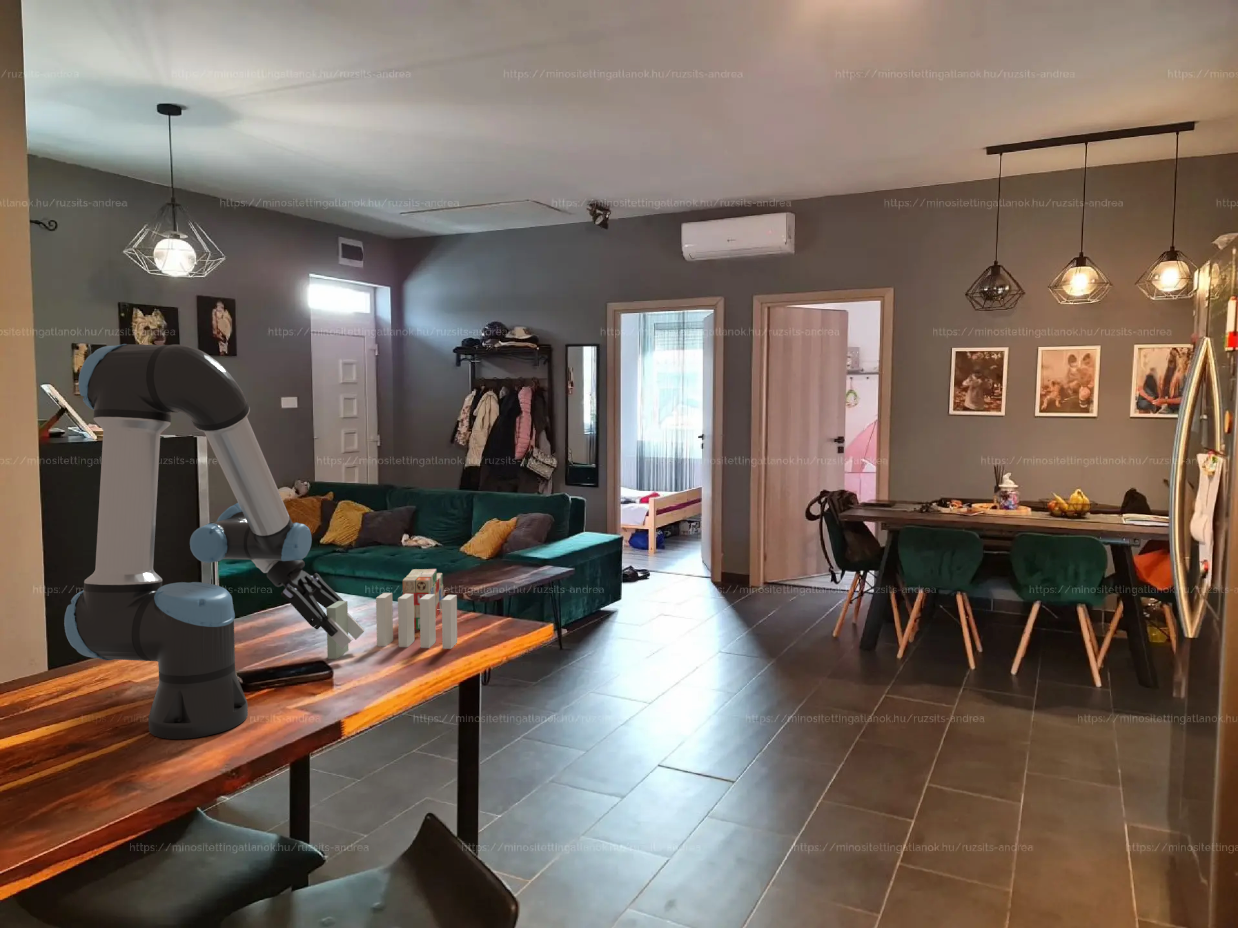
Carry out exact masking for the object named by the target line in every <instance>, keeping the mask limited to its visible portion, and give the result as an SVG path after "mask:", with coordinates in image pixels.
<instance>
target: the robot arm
mask: <svg viewBox="0 0 1238 928" xmlns="http://www.w3.org/2000/svg"><path fill="white" fill-rule="evenodd" d="M79 371H80V372H79V373H78V375H79V376H78V392H79V395H80V397H82V401H83V403H84V404H85V406H87V407H88V408H89V409H90V410H93V421H94V422H95V423H96V424H97V425H98V426H99V427H100V428H101V430H102V431H103V433H102V448H101V451H102V452H101V468H100V484H99V503H98V517H97V518H98V520H97V533H96V535H97V536H96V550H95V551H96V552H95V570H94V572H92V574H91V575H89V576H88V577H87V578H86V579H84V581H83V590H82V591H79V592H78V593H76V594H75V595H74V596H73V597H72V598H71V600H70V604H68V605H67V607H66V610H65V613H64V620H63V621H64V623H63V624H64V632H65V636H66V638H67V640H68V642H69V644H70V646H71V647H72V648H74V649H75V650H76V652H77V653H78V654H80V655H82V656H84V657H88V658H92V659H93V658H94V659H100V660H104V661H113V660H119V661H121V660H122V661H138V662H139V661H140V662H141V661H142V662H157V667H158V686H157V688H156V692H155V693H154V694H155V695H154V698H153V701H152V705H151V708H150V711H149V714H148V731H149V733H150V734H151V735H153V736H155V737H157V738H162V739H168V740H184V739H186V740H187V739H197V738H201V737H203V738H204V737H207V736H211V735H216V734H219V733H222V732H225V731H228V730H231V729H233V728H236V727H237V726H239V725H240V724H242V723H243V722H245V720H247V718H248V714H249V711H248V710H249V708H248V700H247V698H246V696H245V693H244V690H243V688H242V685H241V683H240V680H239V679H238V675H237V674H236V673H237V672H236V651H235V650H236V649H235V644H236V643H235V641H236V640H235V617H236V614H235V610H234V604H233V603H234V602H233V596H232V594H231V593H230V592H229V591H228V590H227V589H226V588H225V587H222V586H220V585H217V584H212V583H209V582H201V581H200V582H199V581H192V582H185V581H184V582H183V581H181V582H173V583H168V584H164V585H163V578H162V577H161V576H160V575H159V574H158V573H156V572H155V570H154V559H155V542H156V541H155V539H156V537H155V536H156V520H157V506H158V505H157V503H158V501H157V499H158V485H159V484H158V483H159V482H158V480H159V469H160V468H159V466H160V465H159V464H160V462H159V461H160V449H161V447H160V446H161V434H162V432H164V431H165V430H166V429H167V428H168V427H170V426H171V422H172V413H181V414H184V415H186V416H187V417H188V418H189V419H191V423H192V424H193V426H194V428H195V429H196V430H198V431H199V432H203V433H204V435H205V437H206V439H207V441H208V443H209V445H210V447H211V449H212V452H213V454H214V455H215V457H216V460H217V462H218V464H219V466H220V468H221V471H222V473H223V475H224V477H225V478H226V480H227V482H228V484H229V487H230V489H231V491H232V493H233V496H234V498H235V499H236V501H237V503H235V504H233V505H231V506H229V507H227V508H226V509H225V510H224V511H223V512H222V513H221V514H220V515H219V516H218V518H217V519H216V521H215V522H209V523H207V524H205V525H203V526H200V527H198V528H196V530H194V531H193V532H192V534H191V536H190V539H189V546H190V547H189V548H190V551H191V553H192V555H193V556H194V557H195V558H196V559H197V560H198V561H199V562H202V563H207V564H212V563H217V562H220V561H222V560H250V561H251V562H252V563H253V564H254V565H255V567H256V568H258V569H259V570H260V571H261V572H262V573H263V574H266V578H267V579H269V581H270V582H271V583H272V584H273V585H274V586H275V587H277V588H280V587H282V586H283V587H284V589H283V591H282V592H281V593H280V595H281V596H280V597H282V598H284V599H285V600H286V601H288V602H289V604H290V605H292V607H293V608H294V609H295V610H296V611H297V613H299V614H300V616H301V617H302V618H303V619H304V620H305V622H306V623H308V625H310V626H311V627H312V628H314V629H315V630H319V629H320V628H321V629H322V630H324V631H325V633H326V635H327V634H328V635H329V636H330V637H331V638H332V639H333V640H334V641H335V642H336V643H337V644H338V645H339V646H340V647H341V648H342V649H343V648H345V647H346V646H347V645H348V646H349V644H350V643H351V642H352V641H353V639H354V640H357V639H358V638H360V637H361V635H362V634H364V633H365V632H366V630H365V629H364V628H363V627H362V626H361V624H359V622H357V621H356V619H354V617H352V615H351V614H350V613H349V612H348V634H347V633H346V632H345V631H344V630H343V629H342V628H341V627H340V626H339V625H338V624H337V623H336V622H335V621H334V620H333V619H332V618H330V619H329V620H328V617H327V613H326V612H325V611H324V609H322V607H323V608H325V609H326V608H327V607H329V606H330V605H332V604H334V603H336V602H337V601H345V600H344V599H343V598H341V596H339V594H338V593H337V592H336V591H335V590H333V589H332V588H331V586H329V585H328V584H327V583H326V581H324V579H323V578H322V577H321V576H320V574H318V573H317V572H316V573H314V574H313V575H311V574H309V573H308V572H307V571H305V570H304V567H305V565H306V564H305V563H306V562H305V561H304V560H303V559H304V558H306V557H307V556H308V554H309V552H310V550H311V547H312V541H313V539H312V532H311V530H310V528H309V527H308V526H307V525H306V524H304V523H299V522H293V521H292V518H291V516H290V515H289V512H288V510H287V508H286V505H285V503H284V501H283V498H282V495H281V494H280V491H279V489H278V486H277V484H276V481H275V479H274V477H273V475H272V472H271V469H270V467H269V466H268V462H267V460H266V458H265V456H264V453H263V451H262V448H261V446H260V444H259V441H258V440H257V437H256V435H255V433H254V429H253V428H252V425H251V423H250V421H249V418H248V416H249V414H250V411H251V407H250V404H249V403H248V401H247V398H246V396H245V394H244V392H243V390H242V389H241V387H240V385H239V384H238V383H237V381H236V380H235V379H234V377H233V376H232V375H231V373H229V371H228V370H227V369H226V368H225V367H224V366H223V365H222V364H221V363H220V362H219V361H217V360H216V359H215V358H213V357H212V356H211V355H209V354H208V353H206V352H205V351H203V350H200V349H199V348H196V347H194V346H189V345H185V344H129V343H128V344H127V343H123V344H118V345H106V346H102V347H100V348H98V349H96V350H94V352H93V353H91V354H90V355H88V356H87V357H86V359H85V361H84V362H83V364H82V366H81V368H80V370H79ZM320 605H321V606H322V607H321V606H320ZM350 635H351V636H350Z"/></svg>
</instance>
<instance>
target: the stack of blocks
mask: <svg viewBox="0 0 1238 928" xmlns="http://www.w3.org/2000/svg"><path fill="white" fill-rule="evenodd" d="M443 579H444V577H443V573H442V572H438V571H437V568H428V569H427V568H424V569H423V568H422V569H419V568H418V569H417V568H415V569H413V568H412V569H411V571H410V572H409V573H408V574H407V575H406V577H404V578H403V579H402V595H404V594H414V630H420V599H421V598H422V597H423V596H425V595H426V594H435V621H437V618H438V615H439V614H440V613H442V610H437V609H442V599H443V598H444V584H443V583H444V582H443V581H444V580H443ZM439 612H440V613H439Z"/></svg>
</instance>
